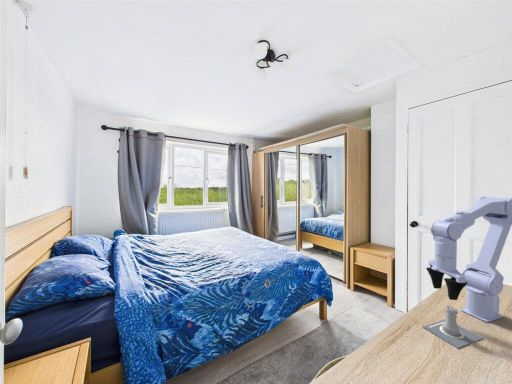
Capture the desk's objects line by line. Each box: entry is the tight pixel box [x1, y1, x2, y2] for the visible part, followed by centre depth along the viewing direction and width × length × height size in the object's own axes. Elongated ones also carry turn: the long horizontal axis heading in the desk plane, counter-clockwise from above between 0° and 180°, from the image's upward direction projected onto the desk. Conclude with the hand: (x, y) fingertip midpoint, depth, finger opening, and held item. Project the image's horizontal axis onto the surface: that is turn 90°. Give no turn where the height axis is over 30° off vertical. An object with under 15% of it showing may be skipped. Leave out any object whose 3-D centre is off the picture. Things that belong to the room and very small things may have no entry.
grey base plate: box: [422, 318, 484, 349], centre depth 71 cm, size 12×10×1 cm
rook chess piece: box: [442, 305, 460, 336], centre depth 71 cm, size 4×4×8 cm
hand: (444, 293), depth 77 cm, fingers open, 7 cm apart
